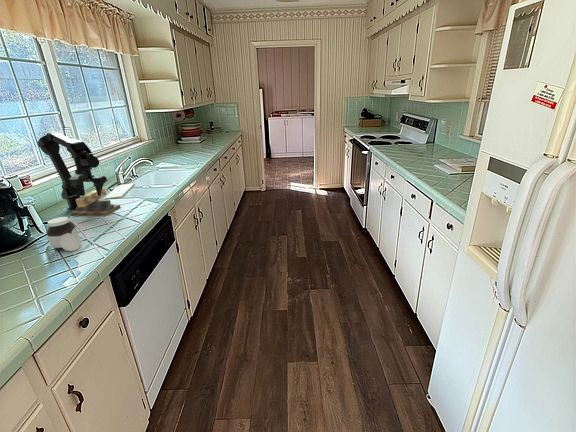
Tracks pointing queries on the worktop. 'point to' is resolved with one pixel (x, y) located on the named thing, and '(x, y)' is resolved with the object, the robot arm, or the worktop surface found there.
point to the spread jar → (63, 234)
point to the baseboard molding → (119, 191)
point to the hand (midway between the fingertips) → (91, 196)
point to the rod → (89, 198)
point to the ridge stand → (96, 208)
